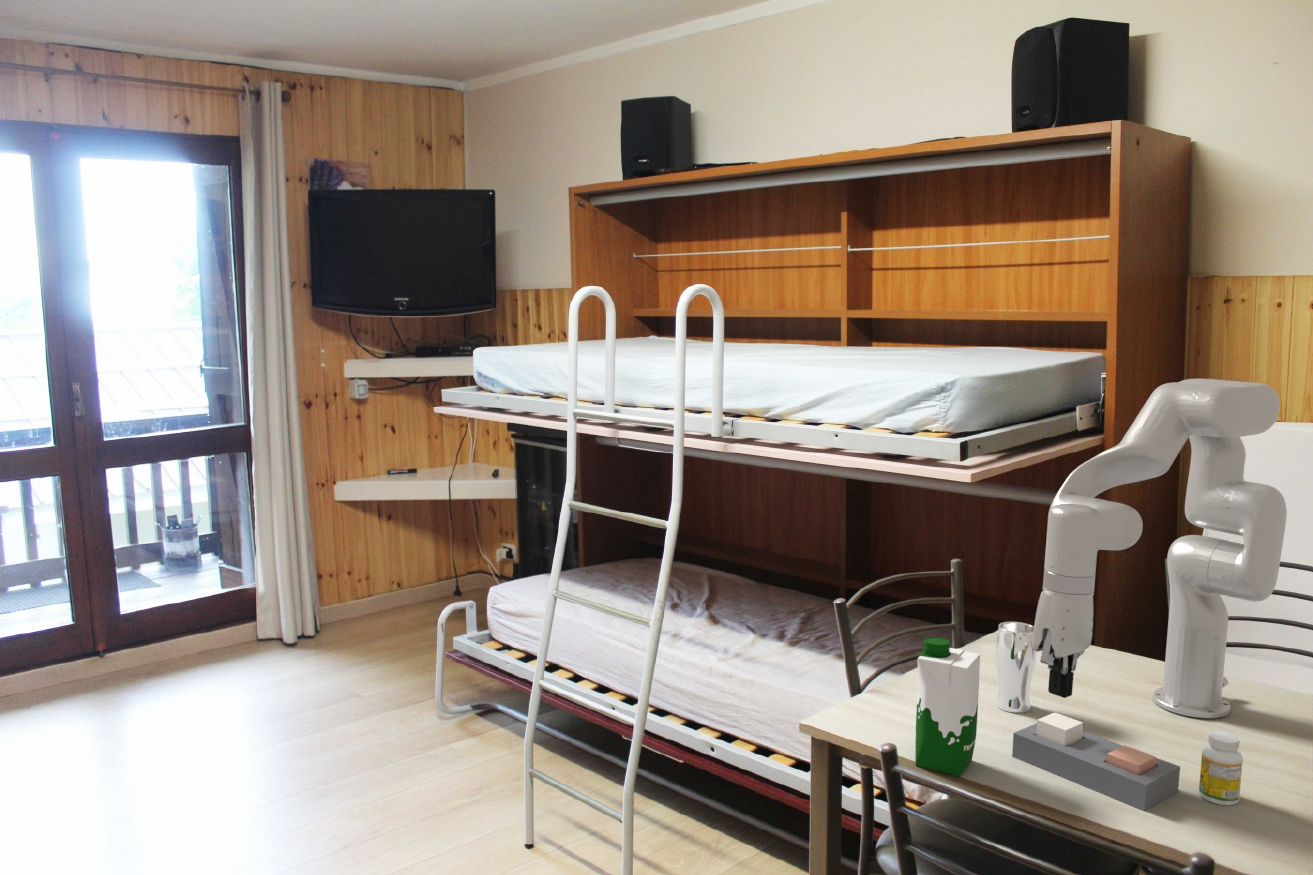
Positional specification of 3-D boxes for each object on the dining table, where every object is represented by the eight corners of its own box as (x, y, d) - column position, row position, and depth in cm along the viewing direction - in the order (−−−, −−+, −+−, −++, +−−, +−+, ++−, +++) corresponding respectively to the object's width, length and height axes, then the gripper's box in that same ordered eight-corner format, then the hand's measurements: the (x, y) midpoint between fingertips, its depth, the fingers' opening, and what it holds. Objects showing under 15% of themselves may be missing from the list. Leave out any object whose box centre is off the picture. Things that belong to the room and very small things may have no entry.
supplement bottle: (1234, 810, 150) (1240, 748, 149) (1194, 798, 154) (1199, 737, 153) (1242, 796, 155) (1248, 736, 153) (1203, 785, 158) (1208, 726, 157)
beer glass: (1027, 700, 191) (1032, 621, 189) (1037, 715, 184) (1042, 634, 182) (989, 698, 191) (993, 620, 189) (997, 713, 185) (1002, 632, 182)
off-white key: (1053, 732, 169) (1054, 712, 169) (1081, 743, 166) (1083, 722, 165) (1035, 740, 166) (1037, 719, 166) (1064, 751, 163) (1065, 730, 162)
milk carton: (924, 746, 171) (930, 630, 168) (980, 759, 166) (986, 640, 163) (907, 766, 163) (913, 645, 161) (964, 781, 159) (971, 656, 156)
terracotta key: (1122, 766, 160) (1124, 745, 160) (1154, 778, 156) (1156, 756, 156) (1105, 775, 157) (1107, 753, 157) (1137, 787, 153) (1139, 765, 153)
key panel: (1047, 740, 173) (1048, 718, 173) (1178, 791, 156) (1180, 766, 155) (1012, 756, 167) (1013, 732, 167) (1144, 810, 150) (1146, 785, 149)
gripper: (1073, 571, 170) (1064, 678, 172) (1019, 584, 161) (1011, 696, 163) (1116, 581, 164) (1107, 692, 166) (1063, 595, 155) (1054, 712, 157)
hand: (1059, 694), depth 165 cm, fingers closed
